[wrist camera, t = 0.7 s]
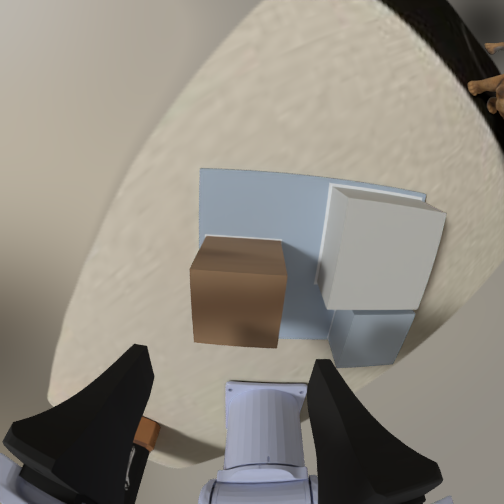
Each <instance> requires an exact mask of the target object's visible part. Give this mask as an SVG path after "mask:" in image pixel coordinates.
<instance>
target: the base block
mask: <svg viewBox="0 0 504 504" xmlns="http://www.w3.org/2000/svg"><path fill="white" fill-rule="evenodd" d="M446 214H447V213H445V212H443V211H441V210H439V209H437V208H435V207H433V206H431V205H429V204H427V203H425V202H423V201H421V200H418V199H412V198H407V197H401V196H396V195H390V194H384V193H377V192H371V191H364V190H357V189H350V188H342V187H334V186H332V191H331V199H330V206H329V213H328V220H327V227H326V233H325V239H324V245H323V251H322V257H321V263H320V268H319V274H318V279H317V284H318V286H319V289H320V292H321V295H322V297H323V300H324V303H325V306H326V309H328V310H412V309H418V307H419V304H420V302H421V299H422V296H423V293H424V291H425V288H426V285H427V282H428V279H429V276H430V273H431V270H432V267H433V264H434V260H435V257H436V254H437V250H438V246H439V243H440V239H441V235H442V231H443V227H444V223H445V219H446Z"/></svg>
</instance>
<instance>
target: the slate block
mask: <svg viewBox="0 0 504 504" xmlns="http://www.w3.org/2000/svg"><path fill="white" fill-rule="evenodd" d="M414 317H415V312H414V311H413V310H336V311H335V315H334V319H333V323H332V326H331V330H330V333H329V337H328V340H329V344H330V347H331V351H332V354H333V358H334V361H335V365H336V368H348V367H365V366H378V365H389V364H393V363H394V361H395V359H396V357H397V355H398V353H399V351H400V349H401V347H402V344H403V342H404V340H405V338H406V336H407V333H408V331H409V329H410V326H411V324H412V322H413V319H414Z"/></svg>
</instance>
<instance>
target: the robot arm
mask: <svg viewBox="0 0 504 504" xmlns="http://www.w3.org/2000/svg"><path fill="white" fill-rule="evenodd" d="M153 381H154V373H153V369H152V365H151V361H150V357H149V353H148V348H147V346H144V345H138V344H134V345H132V346H131V347H130V348H129V349H128V350H127V351H126V352H125V353H124V354H123V355H122V356H121V357H120V358H119V359H118V360H117V361H116V362H115V363H113V364H112V365H111V366H110V367H109V368H108V369H107V370H106V371H105V372H104V373H102V374H101V375H100V376H99V377H98V378H97V379H95V380H94V381H93V382H92V383H90V384H89V385H88V386H87V387H85V388H84V389H83V390H81V391H80V392H79V393H77V394H76V395H74V396H73V397H71V398H69V399H68V400H66V401H64V402H62V403H61V404H59V405H57V406H55V407H53V408H51V409H49V410H47V411H45V412H42V413H40V414H37V415H35V416H33V417H29V418H26V419H23V420H19V421H16V422H13V424H12V425H11V427H10V429H9V431H8V432H7V434H6V436H5V438H4V440H3V444H4V446H5V447H6V448H7V449H8V450H9V451H10V452H11V453H12V454H13V455H15V456H16V457H17V458H18V459H19V460H20V461H21V462H23V463H24V465H23V467H20V466H19V465H18V464H16V463H15V462H14V461H12V460H11V459H9V458H8V457H6V456H5V455H4V454H2V453H0V502H1V503H2V504H124V492H125V483H126V475H127V469H128V463H129V458H130V453H131V449H132V444H133V440H134V437H135V434H136V431H137V428H138V426H139V423H140V420H141V418H142V415H143V413H144V410H145V407H146V405H147V402H148V399H149V397H150V393H151V389H152V385H153ZM306 393H307V402H308V412H309V417H310V423H311V428H312V433H313V438H314V443H315V449H316V456H317V472H318V477H317V476H316V475H309V479H308V471H307V467H305V464H304V453H303V444H302V434H301V425H300V416H299V414H300V411H301V408H302V405H303V402H304V399H305V396H306ZM226 429H227V437H226V448H225V458H224V469H223V470H218V474H217V479H210V480H209V481H208V482H207V483H206V484H205V485H204V486H203V488H202V490H201V492H200V495H199V500H198V504H423V502H425V500H426V499H425V494H426V493H428V492H429V491H431V490H432V489H434V488H435V487H437V486H438V485H440V484H441V483H442V481H443V478H442V475H441V472H440V469H439V467H438V464H437V463H436V462H434V461H432V460H430V459H428V458H426V457H425V456H422V455H421V454H419V453H417V452H416V451H414V450H413V449H411V448H409V447H408V446H406V445H405V444H404V443H402V442H401V441H400V440H399V439H397V438H396V437H394V436H393V435H392V434H391V433H390V432H388V431H387V430H386V429H385V428H384V427H383V426H382V425H381V424H380V423H379V422H378V421H377V420H376V419H375V418H374V417H373V416H372V415H371V414H370V413H369V412H368V410H367V409H366V408H365V407H364V406H363V405H362V403H361V402H360V401H359V400H358V398H357V397H356V396H355V395H354V393H353V392H352V391H351V389H350V388H349V386H348V385H347V384H346V382H345V381H344V379H343V378H342V376H341V375H340V373H339V372H338V370H337V369H336V367H335V366H334V364H333V363H332V361H331V360H330V359H316V361H315V364H314V367H313V371H312V374H311V377H310V380H309V383H308V386H307V385H306V384H273V383H250V382H235V381H229V382H227V383H226ZM432 504H453V500H452V498H451V496H447V497H445V498H443V499H441V500H439V501H437V502H434V503H432Z"/></svg>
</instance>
